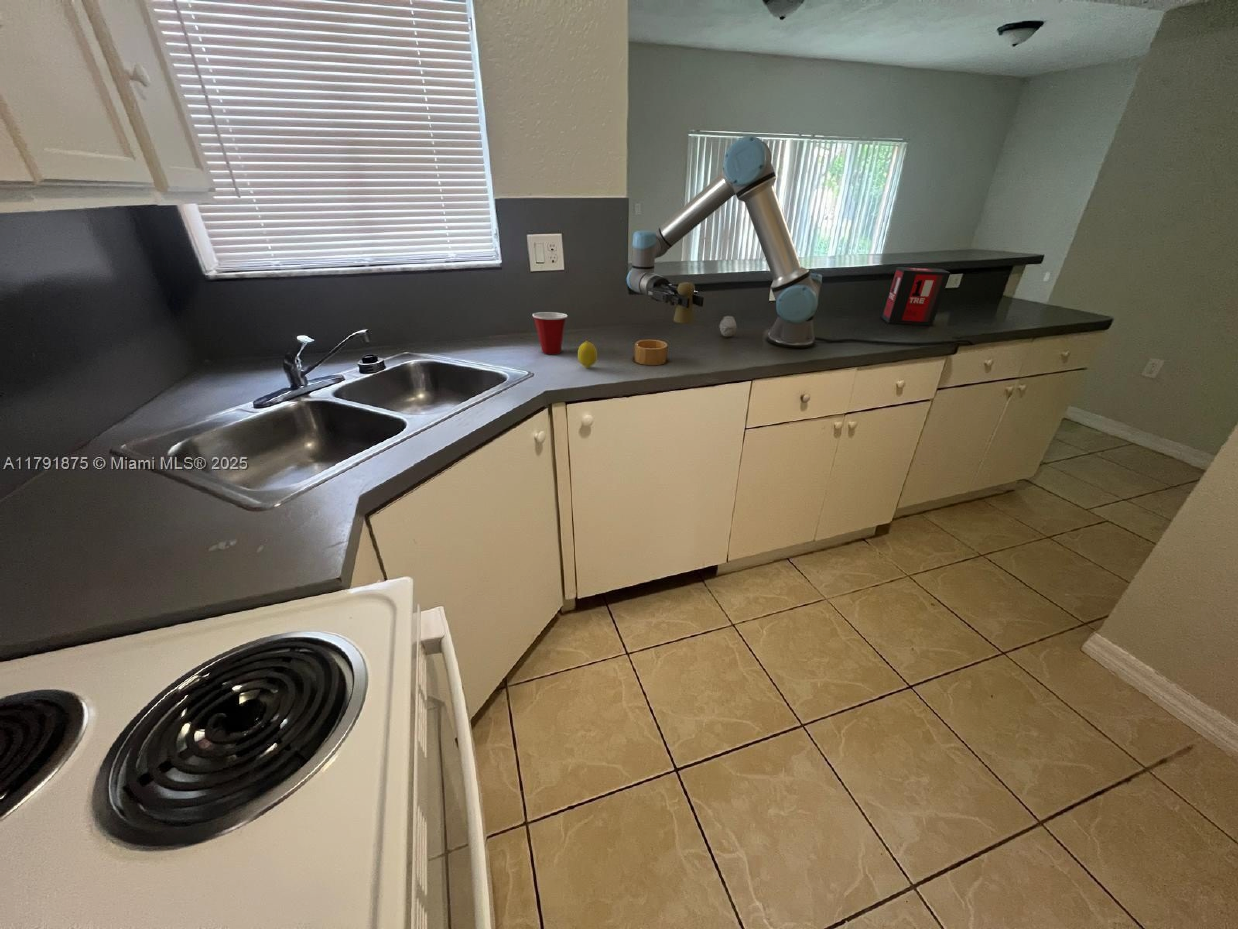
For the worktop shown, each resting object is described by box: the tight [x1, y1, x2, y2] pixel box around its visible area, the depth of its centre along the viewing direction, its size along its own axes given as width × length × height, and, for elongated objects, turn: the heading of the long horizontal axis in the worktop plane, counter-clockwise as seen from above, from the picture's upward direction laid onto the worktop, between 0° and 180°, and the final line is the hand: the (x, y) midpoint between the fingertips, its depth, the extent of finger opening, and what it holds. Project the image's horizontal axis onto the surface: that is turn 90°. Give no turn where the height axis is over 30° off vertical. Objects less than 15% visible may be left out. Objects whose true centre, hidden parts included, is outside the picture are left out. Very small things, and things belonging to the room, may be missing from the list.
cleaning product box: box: [881, 266, 952, 327], centre depth 193 cm, size 16×9×20 cm, turn 80°
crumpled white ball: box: [718, 315, 738, 338], centre depth 173 cm, size 6×7×7 cm
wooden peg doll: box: [673, 281, 696, 324], centre depth 145 cm, size 6×6×11 cm
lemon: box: [577, 340, 598, 369], centre depth 141 cm, size 6×6×8 cm
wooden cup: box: [634, 339, 669, 366], centre depth 149 cm, size 10×10×5 cm
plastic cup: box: [532, 311, 568, 355], centre depth 153 cm, size 11×11×12 cm
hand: (695, 302), depth 140 cm, fingers closed on wooden peg doll, 4 cm apart
